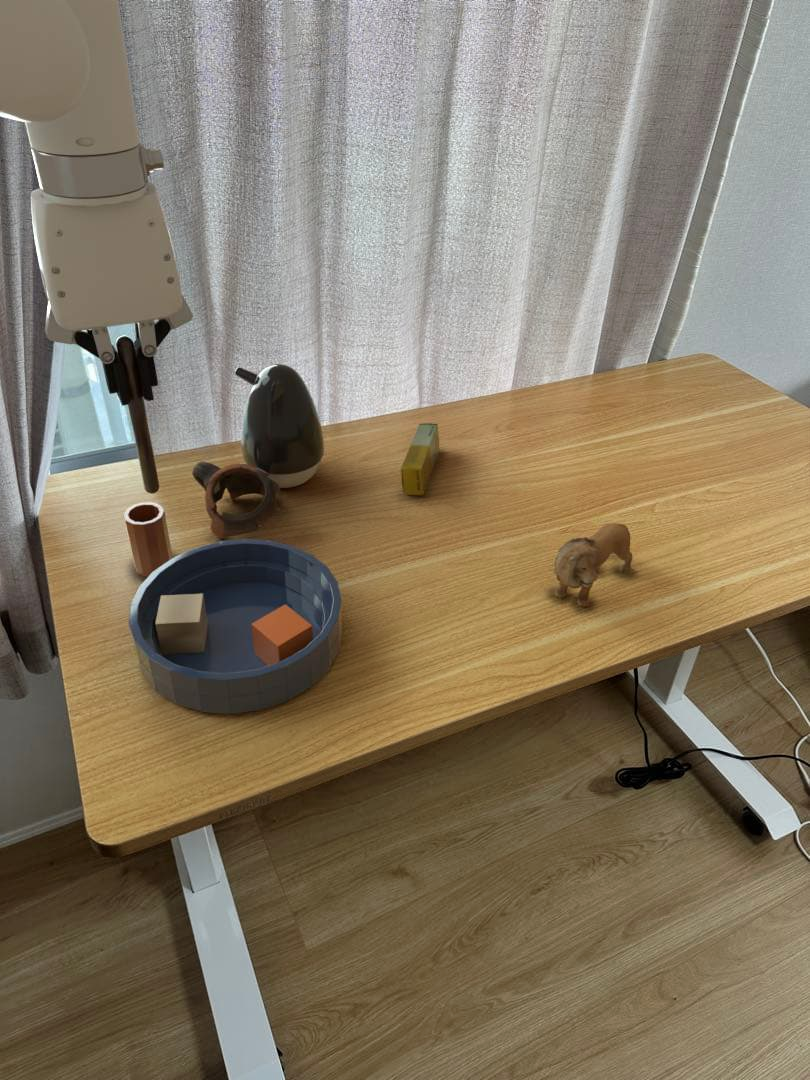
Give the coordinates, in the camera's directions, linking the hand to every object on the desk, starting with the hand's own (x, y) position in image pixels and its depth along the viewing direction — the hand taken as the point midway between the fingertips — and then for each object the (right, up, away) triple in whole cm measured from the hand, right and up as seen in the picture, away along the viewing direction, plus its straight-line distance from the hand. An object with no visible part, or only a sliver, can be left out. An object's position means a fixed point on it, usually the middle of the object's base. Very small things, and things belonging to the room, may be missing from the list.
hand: (134, 395), depth 71 cm
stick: (-1, -8, +7) cm, 11 cm away
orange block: (+12, -24, +6) cm, 27 cm away
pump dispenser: (+8, -5, +32) cm, 34 cm away
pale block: (+2, -22, +8) cm, 24 cm away
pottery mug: (+4, -10, +25) cm, 27 cm away
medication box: (+26, -4, +34) cm, 43 cm away
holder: (-4, -15, +17) cm, 23 cm away
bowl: (+8, -23, +9) cm, 25 cm away
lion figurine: (+44, -18, +17) cm, 50 cm away
